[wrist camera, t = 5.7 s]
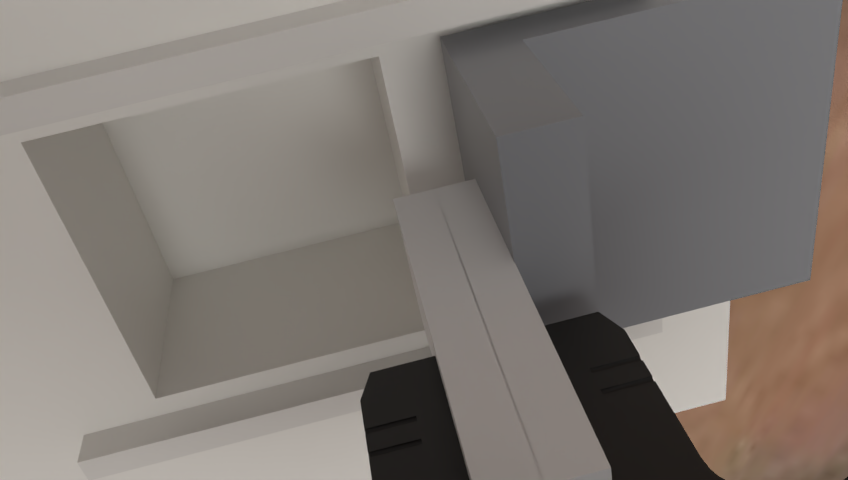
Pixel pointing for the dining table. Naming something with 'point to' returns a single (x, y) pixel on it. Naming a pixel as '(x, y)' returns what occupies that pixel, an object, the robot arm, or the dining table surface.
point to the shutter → (649, 148)
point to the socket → (230, 232)
